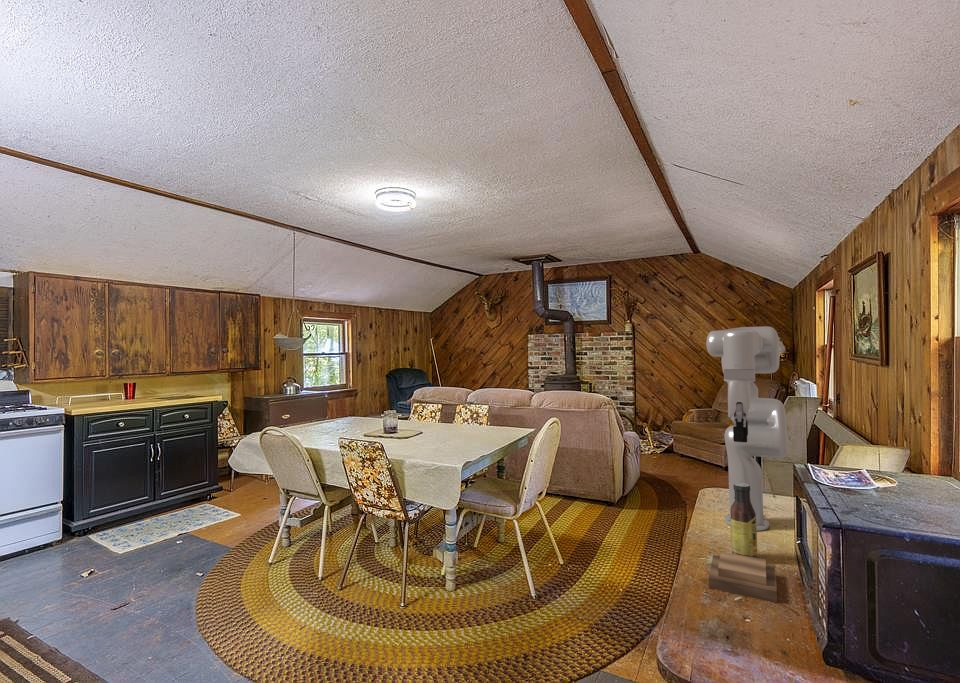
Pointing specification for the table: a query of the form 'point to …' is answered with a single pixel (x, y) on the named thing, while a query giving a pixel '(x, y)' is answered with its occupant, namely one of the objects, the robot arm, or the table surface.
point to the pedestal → (743, 576)
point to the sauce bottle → (743, 522)
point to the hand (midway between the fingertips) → (740, 438)
